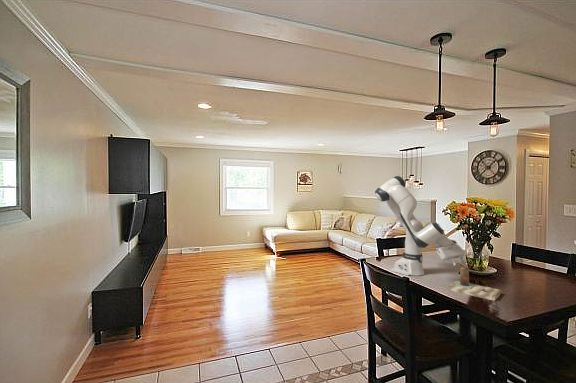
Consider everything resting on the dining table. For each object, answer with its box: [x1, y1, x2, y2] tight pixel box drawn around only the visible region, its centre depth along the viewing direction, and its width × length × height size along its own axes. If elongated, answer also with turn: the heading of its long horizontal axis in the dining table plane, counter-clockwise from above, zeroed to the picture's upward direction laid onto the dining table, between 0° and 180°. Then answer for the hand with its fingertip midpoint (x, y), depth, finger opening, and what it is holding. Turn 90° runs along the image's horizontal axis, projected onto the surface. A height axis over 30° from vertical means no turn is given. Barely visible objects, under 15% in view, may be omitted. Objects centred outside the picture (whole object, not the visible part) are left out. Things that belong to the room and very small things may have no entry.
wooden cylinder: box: [459, 266, 470, 286], centre depth 165 cm, size 4×4×10 cm
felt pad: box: [455, 282, 474, 289], centre depth 165 cm, size 8×8×1 cm
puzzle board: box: [448, 280, 502, 302], centre depth 161 cm, size 22×14×2 cm, turn 42°
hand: (460, 264), depth 168 cm, fingers open, 8 cm apart
